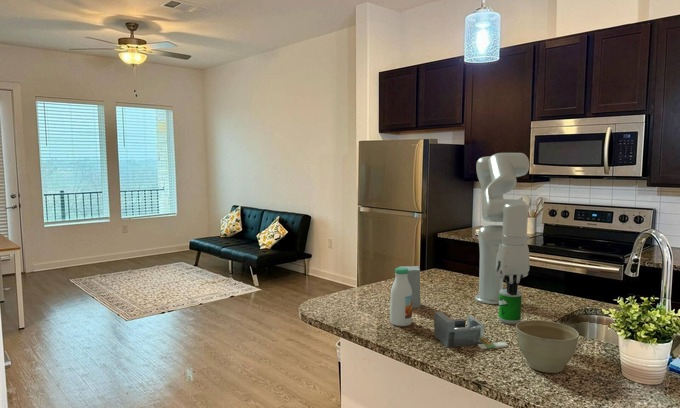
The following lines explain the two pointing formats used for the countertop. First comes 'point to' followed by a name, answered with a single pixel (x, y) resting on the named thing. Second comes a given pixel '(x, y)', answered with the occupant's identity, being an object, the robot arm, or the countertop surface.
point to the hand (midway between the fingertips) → (511, 294)
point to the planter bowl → (546, 344)
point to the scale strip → (493, 345)
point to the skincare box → (414, 284)
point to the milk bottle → (401, 299)
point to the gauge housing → (453, 331)
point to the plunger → (476, 324)
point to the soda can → (509, 307)
